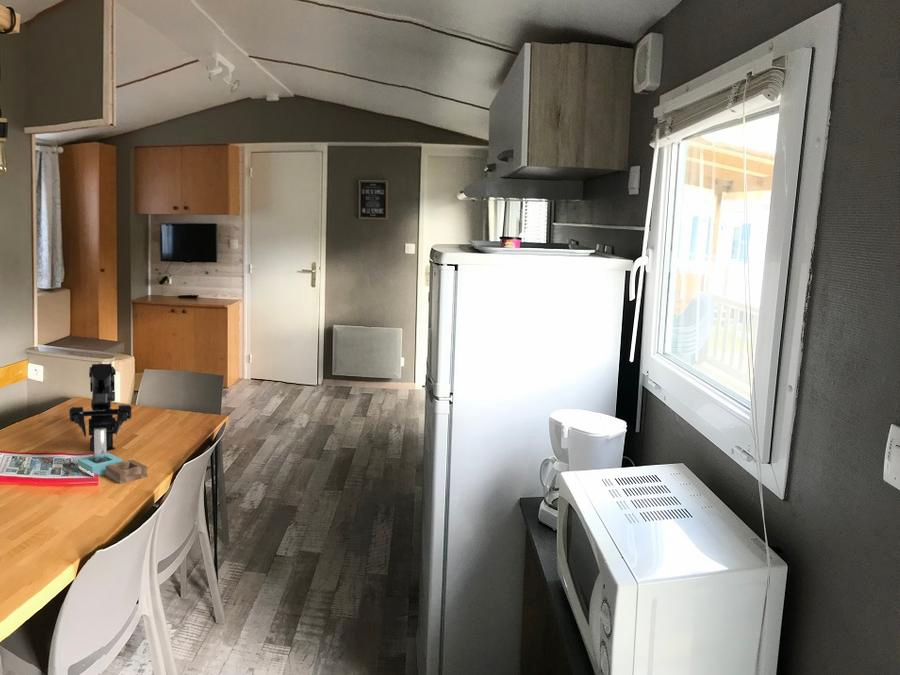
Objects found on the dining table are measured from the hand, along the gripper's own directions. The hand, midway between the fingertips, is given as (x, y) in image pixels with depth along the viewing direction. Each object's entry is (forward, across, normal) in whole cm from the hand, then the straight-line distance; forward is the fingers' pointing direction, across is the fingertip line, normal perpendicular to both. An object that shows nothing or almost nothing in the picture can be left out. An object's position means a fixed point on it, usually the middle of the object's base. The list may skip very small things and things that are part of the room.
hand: (100, 435), depth 222 cm
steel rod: (+11, 0, +4) cm, 11 cm away
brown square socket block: (+16, +8, -2) cm, 18 cm away
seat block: (+11, 0, +4) cm, 11 cm away
